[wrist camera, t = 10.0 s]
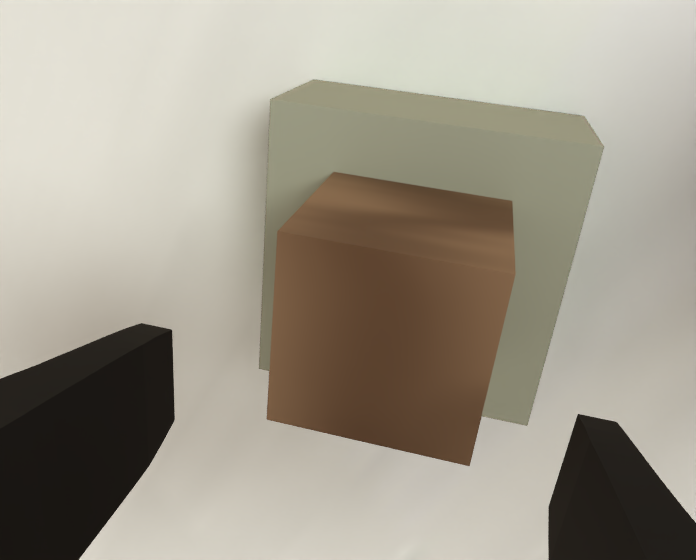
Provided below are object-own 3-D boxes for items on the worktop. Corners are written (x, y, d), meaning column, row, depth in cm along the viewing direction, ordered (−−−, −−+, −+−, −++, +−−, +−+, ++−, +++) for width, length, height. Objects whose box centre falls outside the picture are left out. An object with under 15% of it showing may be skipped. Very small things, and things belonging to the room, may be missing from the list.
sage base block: (584, 115, 18) (603, 146, 14) (523, 353, 21) (527, 425, 18) (313, 79, 19) (270, 99, 16) (297, 309, 23) (259, 368, 19)
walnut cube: (512, 201, 15) (515, 274, 11) (477, 356, 17) (469, 466, 13) (333, 171, 16) (277, 230, 12) (319, 324, 18) (266, 419, 14)
